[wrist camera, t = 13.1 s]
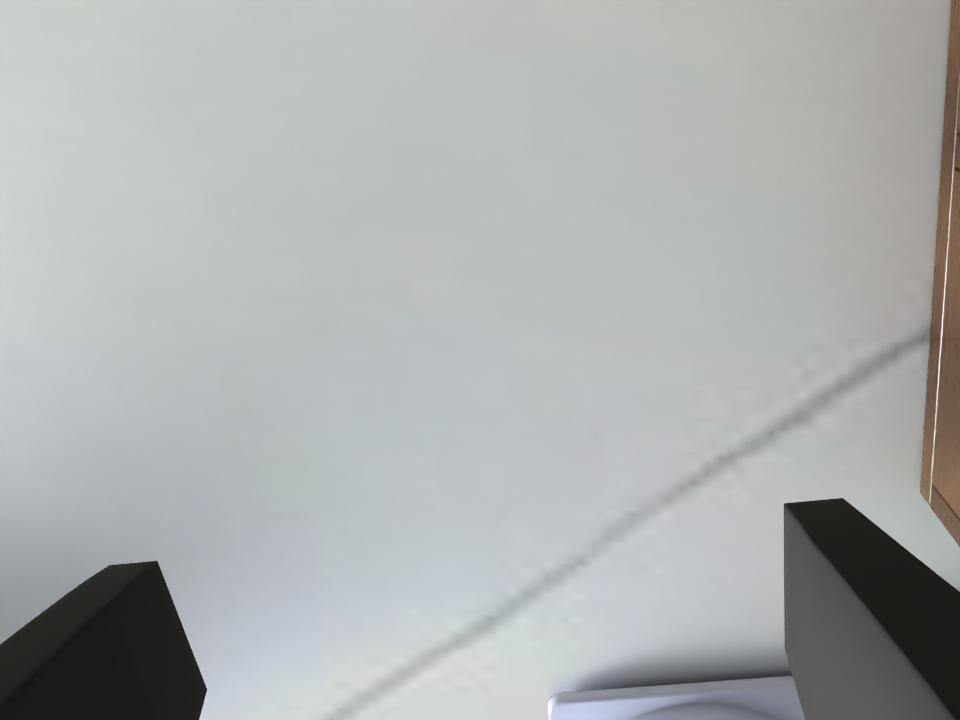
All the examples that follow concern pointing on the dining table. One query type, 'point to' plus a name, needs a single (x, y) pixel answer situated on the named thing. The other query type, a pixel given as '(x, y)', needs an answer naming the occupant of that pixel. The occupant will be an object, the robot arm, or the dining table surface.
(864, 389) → the dining table surface
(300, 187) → the dining table surface
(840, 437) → the dining table surface
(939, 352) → the compartment tray
